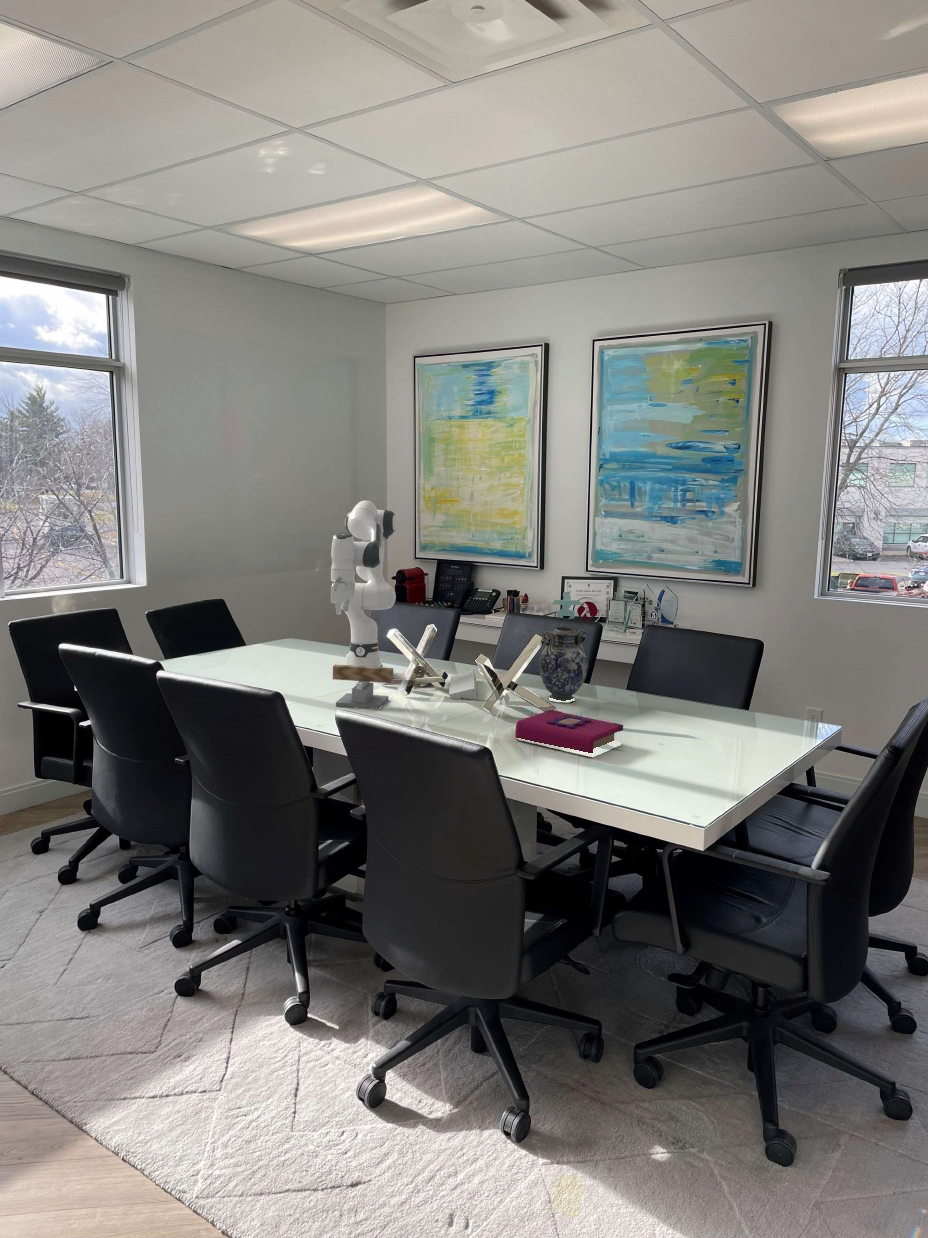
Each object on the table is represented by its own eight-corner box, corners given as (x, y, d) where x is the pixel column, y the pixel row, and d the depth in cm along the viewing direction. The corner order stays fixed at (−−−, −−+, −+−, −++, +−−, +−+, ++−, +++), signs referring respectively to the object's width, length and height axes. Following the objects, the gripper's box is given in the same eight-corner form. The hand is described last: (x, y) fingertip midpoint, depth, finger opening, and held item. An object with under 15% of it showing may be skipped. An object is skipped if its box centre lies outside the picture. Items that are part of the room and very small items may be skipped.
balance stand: (347, 697, 338) (347, 675, 337) (388, 699, 336) (388, 677, 335) (335, 706, 324) (336, 683, 322) (379, 709, 321) (379, 686, 320)
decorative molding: (451, 706, 342) (477, 700, 342) (448, 694, 341) (474, 688, 341) (453, 686, 376) (476, 681, 375) (450, 675, 375) (474, 670, 375)
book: (591, 760, 270) (592, 736, 269) (514, 742, 287) (515, 719, 286) (623, 746, 287) (625, 723, 286) (549, 729, 303) (550, 707, 302)
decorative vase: (567, 692, 359) (571, 623, 354) (598, 702, 343) (602, 630, 339) (524, 697, 347) (528, 626, 342) (554, 709, 332) (558, 634, 327)
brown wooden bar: (393, 681, 329) (393, 668, 328) (391, 683, 326) (391, 669, 325) (334, 677, 332) (335, 664, 331) (332, 679, 329) (332, 666, 328)
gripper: (343, 579, 328) (342, 617, 330) (357, 574, 348) (357, 609, 350) (326, 578, 328) (326, 616, 330) (342, 573, 348) (341, 609, 350)
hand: (342, 612), depth 340 cm, fingers open, 8 cm apart
